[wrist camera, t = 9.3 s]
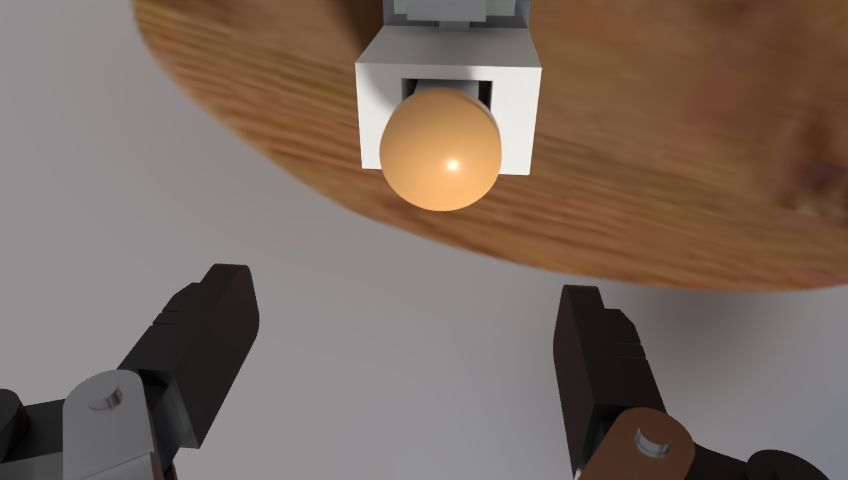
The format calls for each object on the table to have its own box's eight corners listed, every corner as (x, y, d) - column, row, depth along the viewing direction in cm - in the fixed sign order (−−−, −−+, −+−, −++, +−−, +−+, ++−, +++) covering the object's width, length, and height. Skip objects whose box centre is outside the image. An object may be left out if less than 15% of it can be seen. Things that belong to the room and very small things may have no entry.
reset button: (400, 49, 26) (376, 95, 20) (501, 52, 25) (507, 98, 19) (402, 143, 28) (381, 208, 22) (494, 146, 28) (497, 213, 22)
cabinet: (383, 25, 30) (355, 62, 23) (528, 28, 29) (541, 67, 23) (386, 112, 33) (362, 168, 26) (519, 116, 32) (529, 174, 25)
